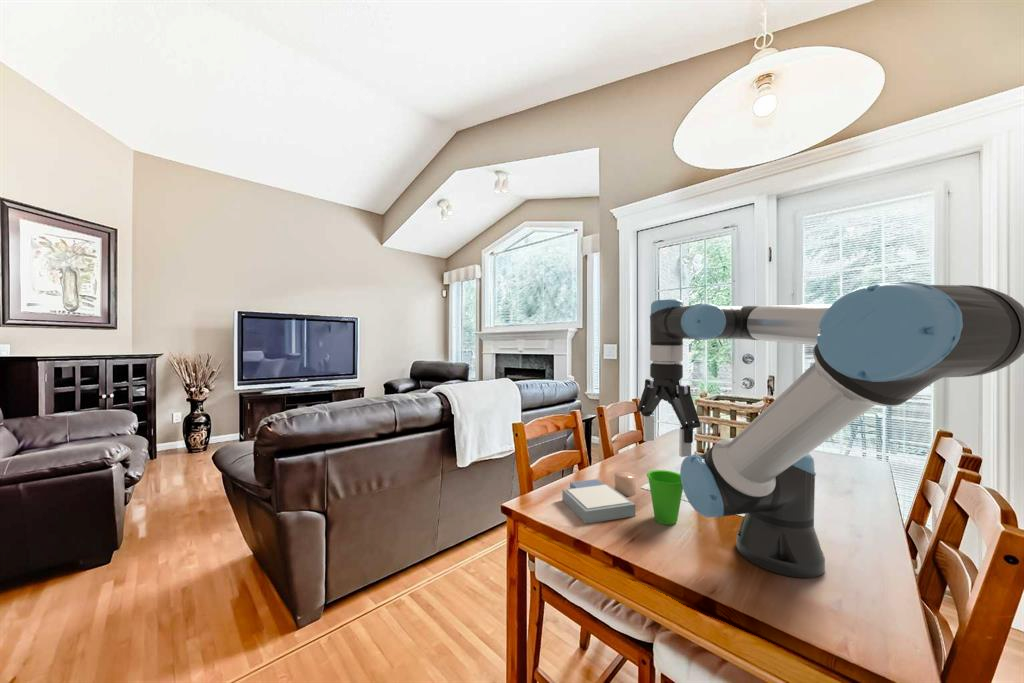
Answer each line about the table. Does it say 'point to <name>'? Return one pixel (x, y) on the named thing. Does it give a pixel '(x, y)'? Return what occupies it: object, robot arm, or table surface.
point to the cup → (665, 495)
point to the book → (585, 483)
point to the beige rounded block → (625, 483)
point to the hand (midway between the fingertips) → (665, 447)
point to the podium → (598, 503)
